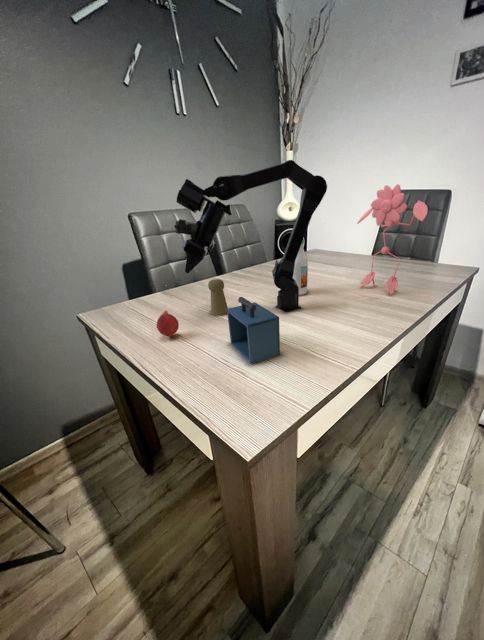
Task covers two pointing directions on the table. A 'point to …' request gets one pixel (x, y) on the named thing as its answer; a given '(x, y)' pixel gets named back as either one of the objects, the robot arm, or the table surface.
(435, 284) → the table surface
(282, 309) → the robot arm
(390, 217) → the figurine
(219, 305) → the tan chess pawn
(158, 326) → the onion
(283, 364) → the table surface
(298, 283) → the milk bottle
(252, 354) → the blue drawer
